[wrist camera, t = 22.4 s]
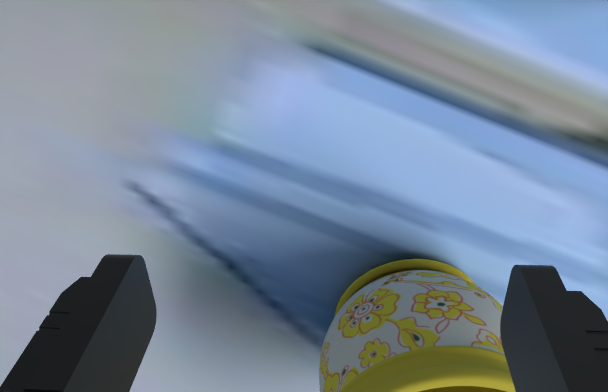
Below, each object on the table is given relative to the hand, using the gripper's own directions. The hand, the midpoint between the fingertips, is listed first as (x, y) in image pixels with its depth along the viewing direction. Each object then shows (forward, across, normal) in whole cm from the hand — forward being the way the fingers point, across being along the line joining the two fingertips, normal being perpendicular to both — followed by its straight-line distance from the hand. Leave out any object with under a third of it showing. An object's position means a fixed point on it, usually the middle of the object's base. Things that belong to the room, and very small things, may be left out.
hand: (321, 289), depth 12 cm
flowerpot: (+30, -6, +30) cm, 44 cm away
